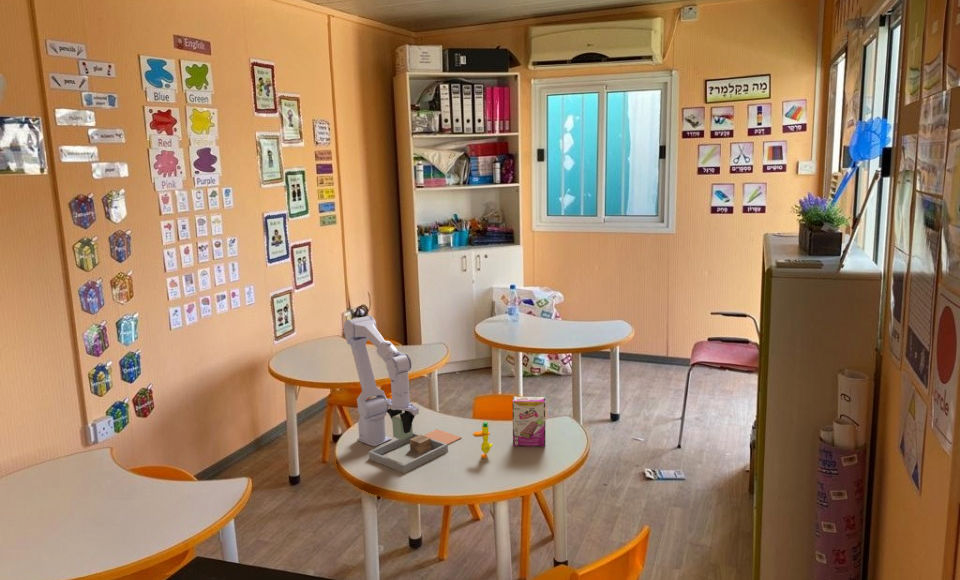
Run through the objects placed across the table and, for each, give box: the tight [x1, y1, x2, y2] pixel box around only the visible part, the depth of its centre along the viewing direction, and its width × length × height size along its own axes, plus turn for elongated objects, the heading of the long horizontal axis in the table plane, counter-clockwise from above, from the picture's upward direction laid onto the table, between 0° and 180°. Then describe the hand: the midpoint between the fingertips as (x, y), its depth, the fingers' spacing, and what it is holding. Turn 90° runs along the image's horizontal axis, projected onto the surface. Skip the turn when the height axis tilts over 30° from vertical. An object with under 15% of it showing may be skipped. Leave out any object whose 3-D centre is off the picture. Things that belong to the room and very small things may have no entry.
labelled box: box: [391, 411, 413, 440], centre depth 228 cm, size 4×5×7 cm
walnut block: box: [409, 434, 432, 455], centre depth 235 cm, size 5×5×4 cm
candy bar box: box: [512, 396, 547, 448], centre depth 235 cm, size 11×5×16 cm, turn 84°
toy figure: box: [472, 421, 494, 459], centre depth 227 cm, size 7×4×12 cm, turn 100°
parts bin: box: [368, 432, 449, 474], centre depth 231 cm, size 17×20×2 cm
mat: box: [423, 429, 462, 446], centre depth 244 cm, size 12×9×1 cm
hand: (402, 430), depth 228 cm, fingers closed on labelled box, 4 cm apart
